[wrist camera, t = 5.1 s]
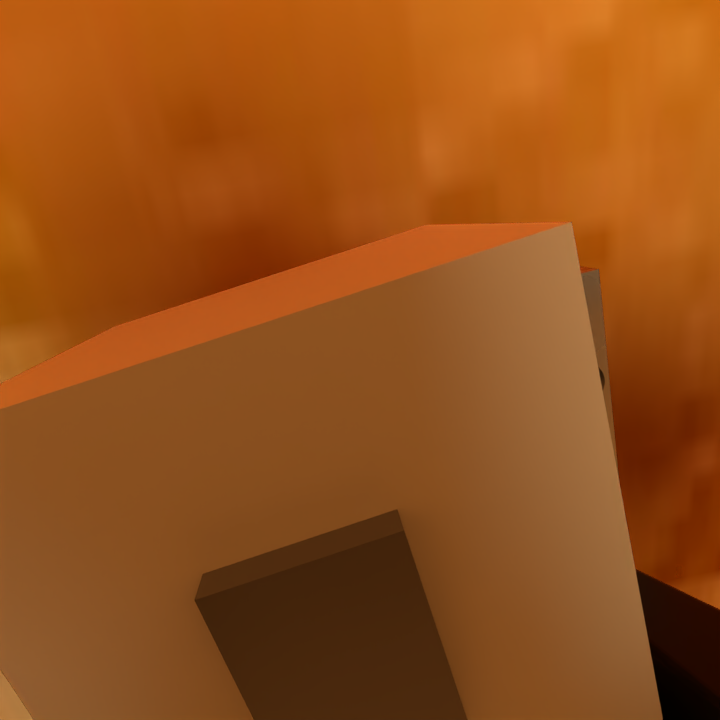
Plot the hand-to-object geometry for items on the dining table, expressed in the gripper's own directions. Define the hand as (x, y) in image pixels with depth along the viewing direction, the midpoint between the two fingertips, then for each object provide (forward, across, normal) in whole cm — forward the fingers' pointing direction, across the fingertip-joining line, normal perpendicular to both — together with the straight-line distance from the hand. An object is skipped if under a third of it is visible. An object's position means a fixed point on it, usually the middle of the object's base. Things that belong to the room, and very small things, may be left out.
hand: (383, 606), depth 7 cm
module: (+1, 0, 0) cm, 1 cm away
